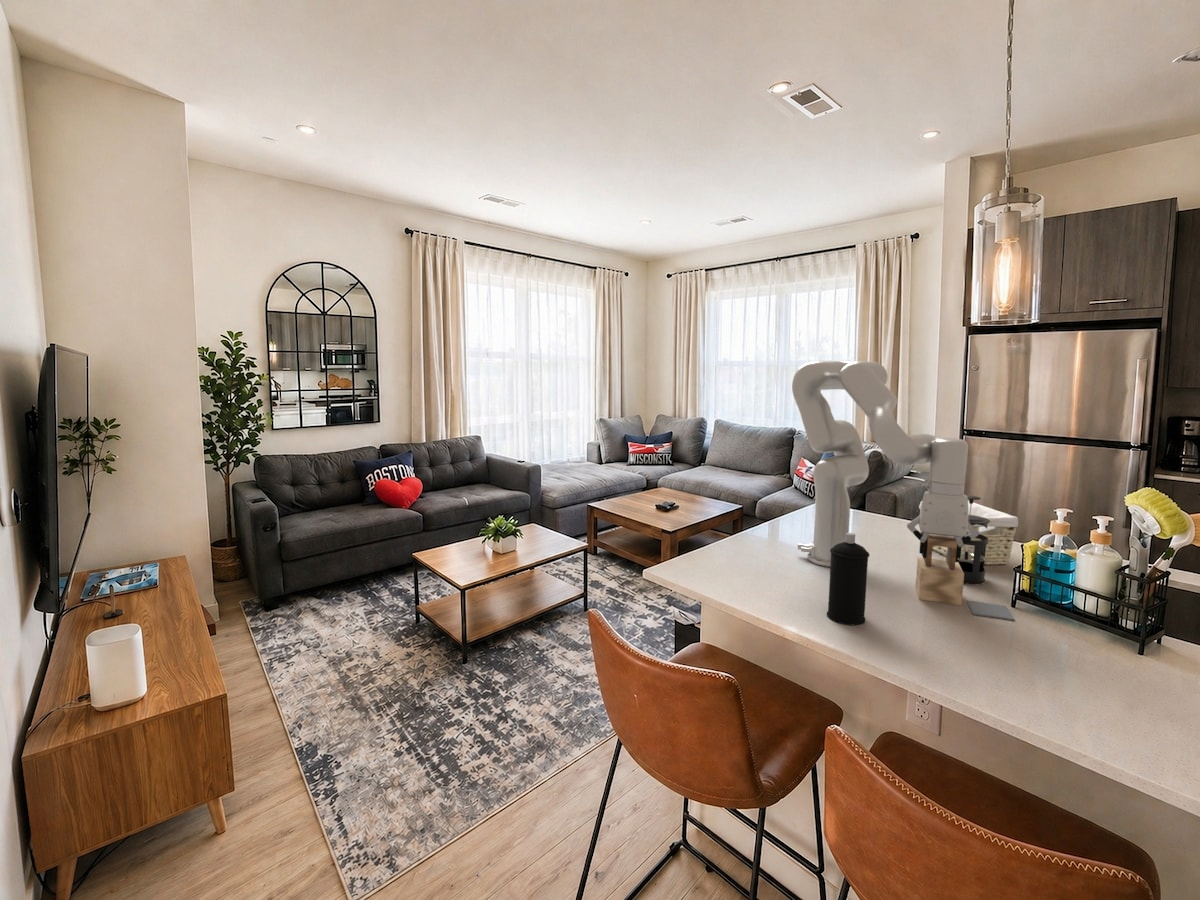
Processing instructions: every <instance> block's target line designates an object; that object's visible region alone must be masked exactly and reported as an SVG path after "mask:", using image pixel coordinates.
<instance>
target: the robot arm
mask: <svg viewBox="0 0 1200 900" xmlns="http://www.w3.org/2000/svg"><path fill="white" fill-rule="evenodd" d="M888 377H889V376H888V371H887V369H886V368H885V367H884V366H883V365H882V364H881V363H879V362H877V361H863V360H862V361H843V360H842V361H841V360H839V361H838V360H837V361H836V360H815V361H809V362H806V363H804V364H802V365H801V366H799V368H798V369H797V370H796V372H795V374H794V375H793V379H792V384H791V389H792V395H793V399H794V401H795V403H796V406H797V409H798V410H799V413H800V417H801V420H802V421H801V422H802V423H803V427H804V431H805V433H806V438H807V440H808V443H809V446H810V448H811V449H812V451H814V452H815V453H818V454H830V453H833V456H832V455H831V456H828V457H825V458H822V459H820V460H819V461H818V462H816V465H815V466H814V468H813V476H812V478H813V484H814V493H815V498H814V499H815V501H814V502H815V503H814V504H815V505H814V523H813V524H814V526H813V541H812V543H808V544H806V543H805V544H804V543H799V542H798V543H797V550H800V552H802V553H806V552H807V557H806V558H807V560H808V561H809V562H811V563H813V564H815V565H817V566H818V565H819V566H822V567H826V568H827V567H829V568H830V565H831V552H830V549H831V548H833V547H834V546H835V545H836V544H838V543H842V542H845V541H846V533H850V519H851V518H850V517H851V515H850V514H851V501H850V500H851V499H850V496H849V493H848V489H847V488H849V487H853V486H857V485H860V484H863V483H864V482H865V481H866V480H867V478H868V476H869V472H870V469H869V467H870V466H869V463H868V459H867V456H866V452H865V449H864V446H863V444H862V439H861V438H860V434H859V432H858V430H857V429H856V427H855V426H854V424H852V423H851V422H850V421H847V420H844V419H843V420H842V419H837V420H836V419H835V417H834V416H833V413H832V409H831V407H830V404H829V402H828V401H827V399H826V398H825V396H824V395H823V394H822V392H821V391H822V390H828V391H829V390H844V391H845V392H846V393H847V394H848V395H849V396H850V397H851V399H852V400H853V401H854V403H855V404H857V406H858V407H859V409H860V410H861V411H862V412H863V414H865V416H866V417H867V419H868V426H869V430H870V434H871V437H872V438H873V441H874V442H875V443H876V445H877V446H878V447H879V448H880V450H881V451H882V452H883V453H884V454H885V455H886V456H887V458H889V460H891V461H892V462H893V463H894V464H897V465H899V466H903V467H907V466H915V465H920V464H921V465H922V464H929V474H928V480H927V481H922V482H921V488H925V489H926V490H925V491H924V493H923V496H922V499H921V501H922V503H921V509H919V510H920V511H919V515H918V516H916V517H915V518H913V519H912V520H911V521H910V522H908V523H907V524H906V527H907V529H908V530H909V531H910V532H911V533H913V535H914V536H915V537H916V538H917V539H918V540H919V554H921V556H922V558H926V554H927V538H928V536H929V535H930V534H937V535H947V536H954V537H955V539H956V541H957V550H956V560H955V562H957V560H958V558H960V557H961V547H963V545H964V544H966V543H967V542H969V541H970V540H971V539H973V538H975V537H976V536H978V535H979V532H978V531H977V530H976V529H975V528H974V527H973V526H972V525H971V524H970V523H969V522H968V501H969V499H968V498H967V496H966V494H964V493H965V492H964V491H965V484H966V473H967V466H968V465H967V464H968V453H969V444H968V442H967V441H966V440H965V439H960V438H955V437H954V438H953V437H939V436H935V435H932V434H926V433H917V434H910V435H908V434H907V433H906V432H905V431H904V429H902V427H901V426H900V425H899V424H898V421H896V419H895V416H894V412H893V411H894V409H895V408H896V406H897V403H898V398H897V397H896V395H895V394H894V393H893V392H892V391H891V390H890V389H889V388H888V387H887V385H886V384H887V382H888ZM917 525H918V527H919V530H918V529H917V528H916V526H917ZM920 530H921V531H922V533H920ZM968 530H969V531H970V533H968V534H967V531H968ZM962 536H963V537H962ZM961 537H962V538H961Z"/></svg>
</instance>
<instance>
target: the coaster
mask: <svg viewBox="0 0 1200 900" xmlns="http://www.w3.org/2000/svg"><path fill="white" fill-rule="evenodd" d="M966 604H967V606H968V608H969V610H970V612H971V614H972V615H973V616H979V617H985V618H986V617H987V618H991V619H998V618H999V619H1000V620H1005V619H1006V621H1014V622H1015V621H1016V620H1015V618H1014V616H1013V614H1012V613H1011V611H1010V609H1009V608H1008V606H1007V605H1003V604H997V603H990V602H982V601H976V600H968V599H966ZM992 617H993V618H992Z"/></svg>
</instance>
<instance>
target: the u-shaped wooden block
mask: <svg viewBox="0 0 1200 900" xmlns="http://www.w3.org/2000/svg"><path fill="white" fill-rule="evenodd" d="M933 545H934V546H943V547H948V548H947V556H946V560H945V561H946V562H947V564H948V566H949V569H953V570H955V560H956V550H957V541H956V539H955V537H954V536H947V535H937V534H930V535H929V536H928V538H927V554H926V558H924V561H925V564H926V566H929V567H931V560H932V559H933V558H932V557H933Z"/></svg>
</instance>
